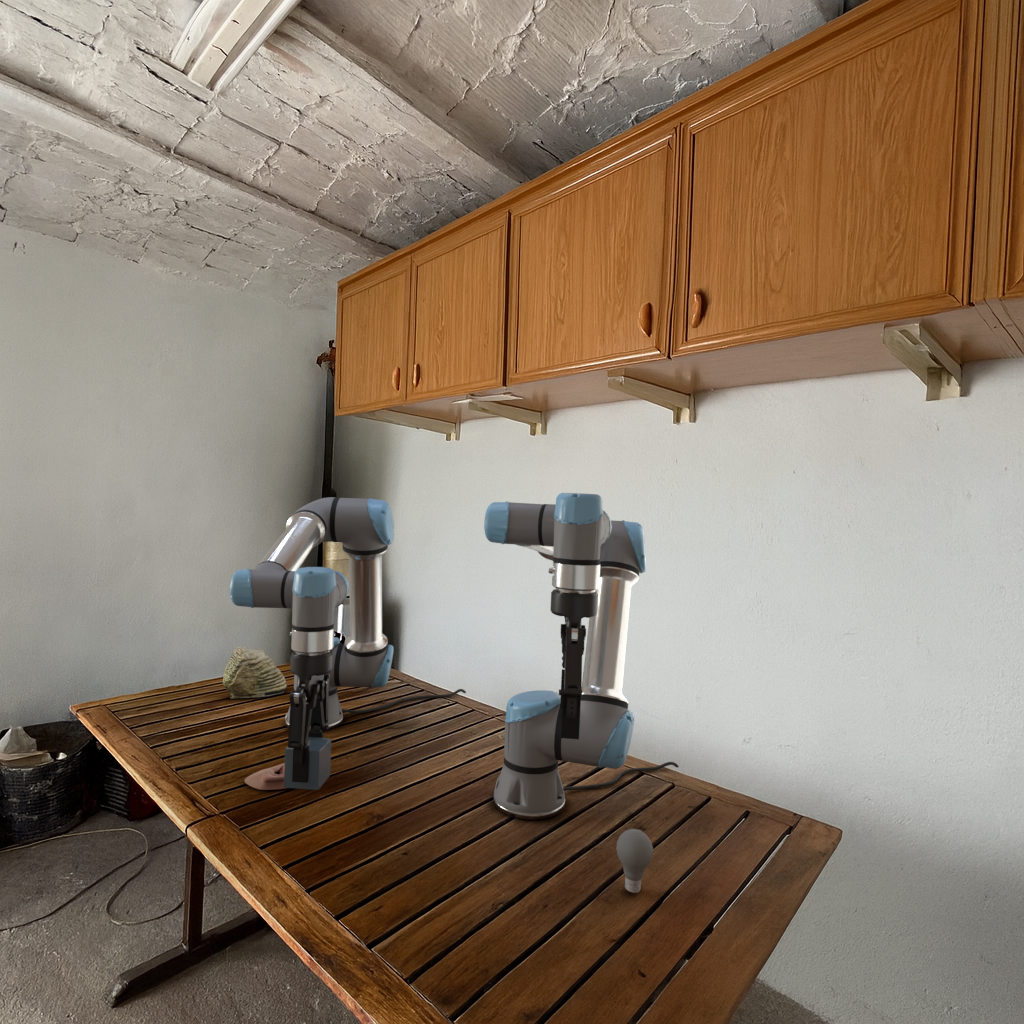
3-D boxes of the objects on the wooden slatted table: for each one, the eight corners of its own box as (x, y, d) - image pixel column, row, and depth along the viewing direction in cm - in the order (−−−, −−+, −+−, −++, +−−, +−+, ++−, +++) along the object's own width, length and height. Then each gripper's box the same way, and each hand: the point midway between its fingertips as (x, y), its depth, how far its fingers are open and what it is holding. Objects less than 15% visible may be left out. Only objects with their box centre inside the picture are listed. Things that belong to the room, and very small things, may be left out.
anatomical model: (236, 768, 136) (267, 748, 147) (235, 786, 136) (266, 765, 148) (292, 776, 134) (319, 755, 145) (291, 794, 134) (319, 772, 145)
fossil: (218, 695, 195) (220, 647, 195) (278, 685, 208) (279, 640, 207) (228, 703, 189) (230, 653, 188) (289, 692, 201) (290, 645, 201)
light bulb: (610, 879, 108) (613, 822, 108) (644, 879, 109) (647, 822, 109) (619, 902, 102) (622, 840, 102) (655, 901, 103) (658, 840, 103)
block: (297, 772, 122) (298, 735, 122) (330, 775, 122) (331, 738, 121) (283, 787, 116) (284, 748, 116) (318, 790, 115) (319, 751, 115)
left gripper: (312, 638, 128) (308, 751, 129) (269, 662, 109) (264, 795, 109) (348, 640, 127) (344, 753, 128) (311, 665, 108) (307, 798, 109)
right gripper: (551, 579, 114) (546, 696, 114) (550, 600, 89) (543, 750, 89) (593, 581, 113) (588, 699, 113) (604, 603, 88) (597, 754, 89)
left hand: (307, 772), depth 119 cm, fingers closed on block, 6 cm apart
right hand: (568, 722), depth 101 cm, fingers open, 13 cm apart
